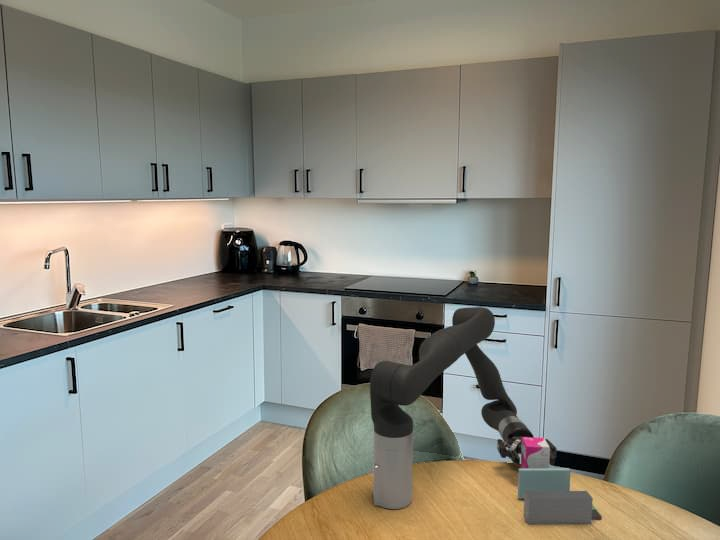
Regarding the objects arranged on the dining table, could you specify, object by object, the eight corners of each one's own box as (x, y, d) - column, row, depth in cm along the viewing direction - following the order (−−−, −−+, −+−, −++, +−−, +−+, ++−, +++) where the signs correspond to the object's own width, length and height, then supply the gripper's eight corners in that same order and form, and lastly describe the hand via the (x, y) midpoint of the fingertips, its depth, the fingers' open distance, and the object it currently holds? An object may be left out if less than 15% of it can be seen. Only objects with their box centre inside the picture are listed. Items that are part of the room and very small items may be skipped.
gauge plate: (519, 498, 125) (520, 470, 124) (517, 496, 126) (518, 468, 125) (585, 498, 125) (587, 470, 125) (584, 495, 126) (585, 468, 126)
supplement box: (542, 479, 135) (544, 437, 134) (548, 492, 129) (550, 447, 128) (519, 478, 136) (521, 436, 134) (524, 490, 130) (526, 446, 128)
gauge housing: (528, 524, 116) (529, 498, 115) (513, 498, 126) (514, 474, 126) (604, 523, 116) (606, 498, 115) (583, 497, 127) (585, 474, 126)
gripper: (490, 421, 147) (507, 447, 130) (541, 421, 147) (564, 447, 131) (489, 447, 147) (506, 476, 131) (540, 446, 148) (563, 475, 131)
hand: (535, 461), depth 131 cm, fingers open, 8 cm apart
